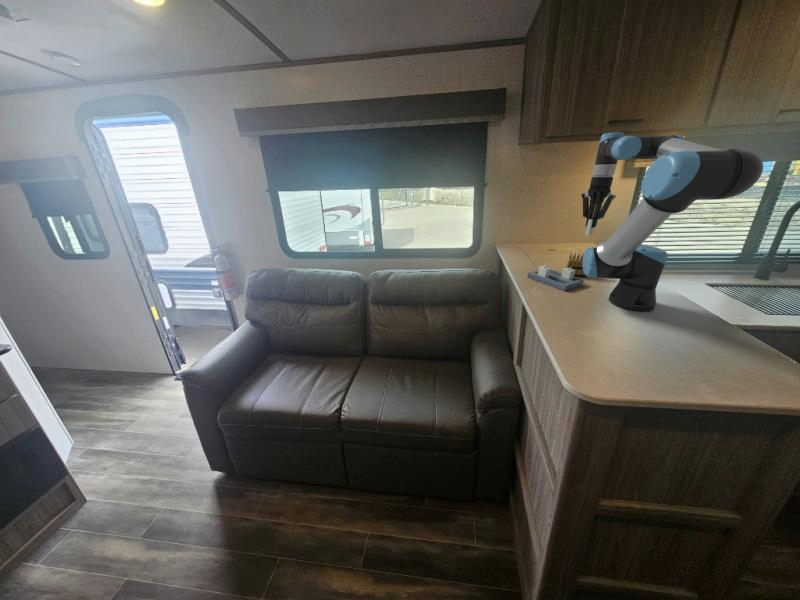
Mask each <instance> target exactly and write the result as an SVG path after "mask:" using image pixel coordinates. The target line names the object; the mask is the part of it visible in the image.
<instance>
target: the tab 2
mask: <svg viewBox="0 0 800 600" xmlns="http://www.w3.org/2000/svg"><path fill="white" fill-rule="evenodd" d="M574 272H575V270H573V269H572V268H566V267H564V268H562V271H561V273H562V275H561V277H563V278H566V279H569V280H573V276H574Z"/></svg>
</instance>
